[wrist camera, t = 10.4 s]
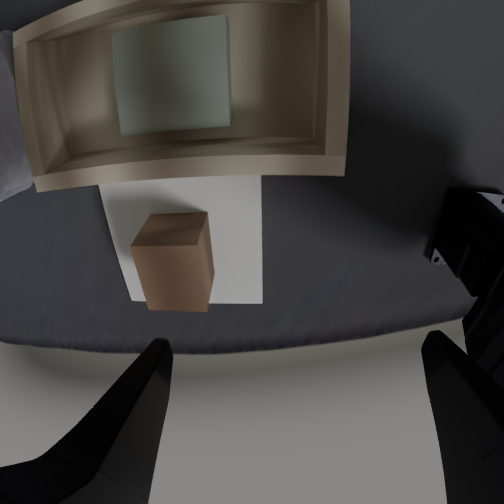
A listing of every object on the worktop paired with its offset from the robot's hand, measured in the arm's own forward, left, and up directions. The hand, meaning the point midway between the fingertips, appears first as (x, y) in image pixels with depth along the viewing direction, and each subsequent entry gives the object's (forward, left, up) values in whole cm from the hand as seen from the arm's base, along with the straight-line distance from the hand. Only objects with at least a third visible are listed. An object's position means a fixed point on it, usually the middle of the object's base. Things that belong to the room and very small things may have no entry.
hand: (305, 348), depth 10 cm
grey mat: (+7, +3, -12) cm, 14 cm away
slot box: (+6, -8, -12) cm, 16 cm away
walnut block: (+7, +3, -12) cm, 14 cm away
